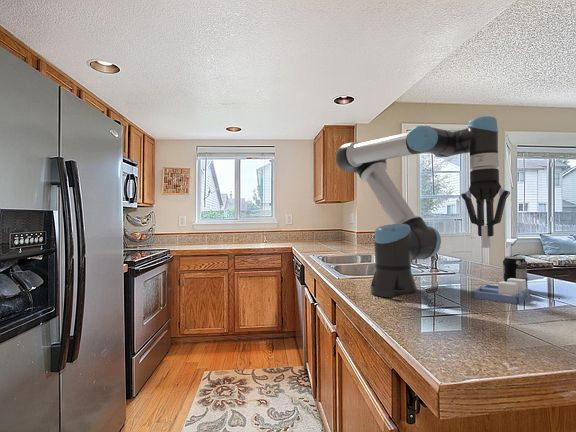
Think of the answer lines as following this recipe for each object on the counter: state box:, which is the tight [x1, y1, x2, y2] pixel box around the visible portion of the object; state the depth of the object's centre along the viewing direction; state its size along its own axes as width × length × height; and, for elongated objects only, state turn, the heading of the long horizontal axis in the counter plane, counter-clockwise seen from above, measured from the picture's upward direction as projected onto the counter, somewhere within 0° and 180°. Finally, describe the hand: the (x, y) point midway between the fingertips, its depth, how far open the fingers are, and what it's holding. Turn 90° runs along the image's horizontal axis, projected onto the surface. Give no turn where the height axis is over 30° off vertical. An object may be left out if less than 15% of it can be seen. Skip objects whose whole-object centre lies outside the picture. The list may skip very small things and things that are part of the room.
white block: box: [497, 280, 518, 296], centre depth 97 cm, size 4×4×5 cm
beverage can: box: [502, 255, 529, 289], centre depth 111 cm, size 7×7×12 cm
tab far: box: [507, 278, 526, 292], centre depth 102 cm, size 4×4×5 cm
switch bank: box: [471, 283, 531, 305], centre depth 102 cm, size 12×14×3 cm
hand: (486, 247), depth 102 cm, fingers closed
